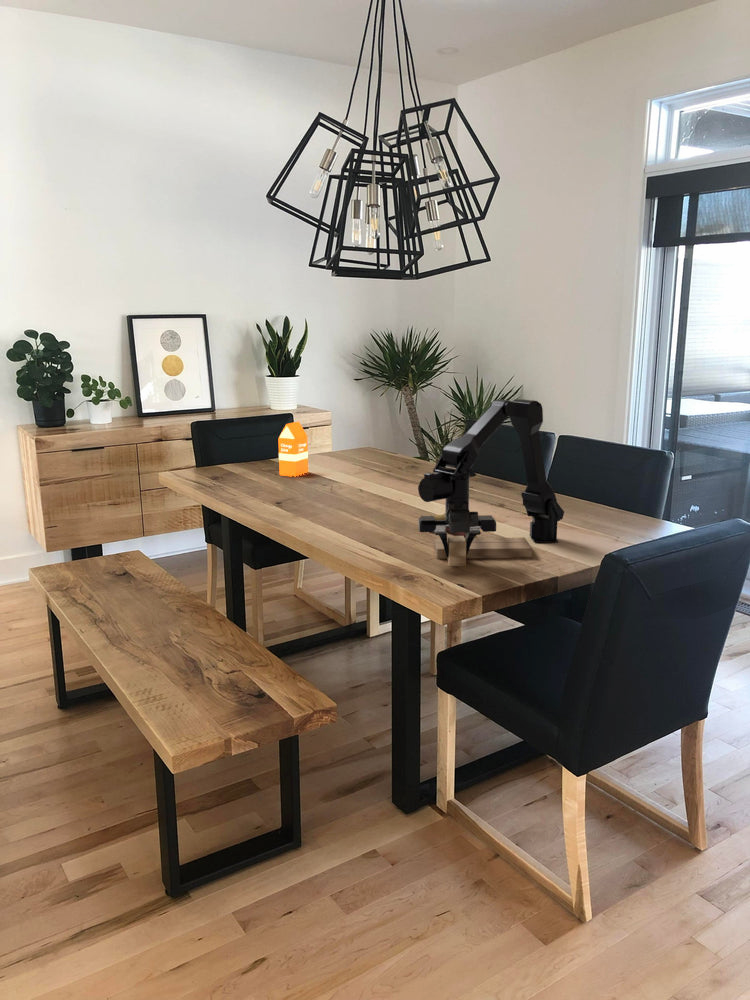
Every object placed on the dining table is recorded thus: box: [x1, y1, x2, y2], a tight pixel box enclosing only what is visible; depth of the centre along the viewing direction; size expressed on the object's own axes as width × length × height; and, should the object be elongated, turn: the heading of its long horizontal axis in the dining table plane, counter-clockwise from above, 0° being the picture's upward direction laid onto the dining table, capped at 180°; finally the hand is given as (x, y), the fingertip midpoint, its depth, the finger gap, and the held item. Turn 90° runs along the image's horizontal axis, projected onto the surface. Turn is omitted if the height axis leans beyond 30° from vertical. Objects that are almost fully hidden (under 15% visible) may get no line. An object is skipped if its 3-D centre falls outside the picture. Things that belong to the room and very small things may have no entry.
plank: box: [433, 537, 533, 560], centre depth 210 cm, size 24×10×2 cm, turn 90°
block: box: [447, 535, 467, 567], centre depth 204 cm, size 4×12×6 cm, turn 0°
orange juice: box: [278, 421, 309, 478], centre depth 312 cm, size 8×9×20 cm
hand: (456, 557), depth 201 cm, fingers closed on block, 4 cm apart
